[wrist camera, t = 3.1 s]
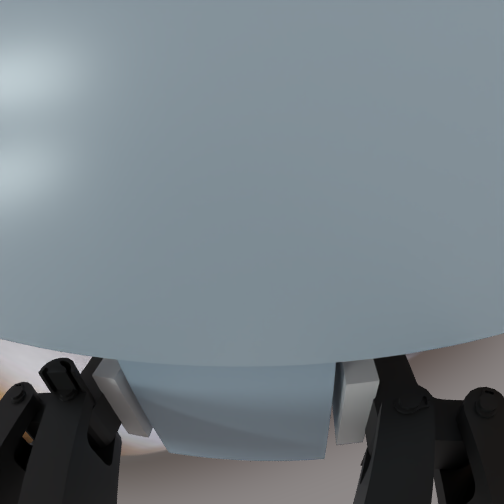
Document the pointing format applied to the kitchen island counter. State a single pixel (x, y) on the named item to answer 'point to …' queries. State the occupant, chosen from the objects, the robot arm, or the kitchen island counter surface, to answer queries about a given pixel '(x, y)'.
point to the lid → (250, 198)
